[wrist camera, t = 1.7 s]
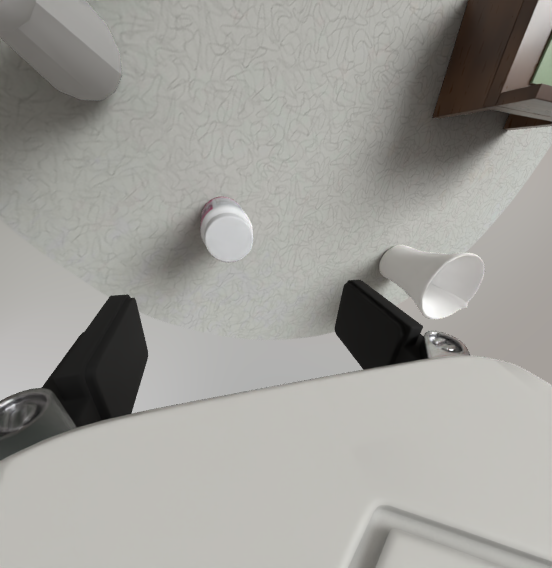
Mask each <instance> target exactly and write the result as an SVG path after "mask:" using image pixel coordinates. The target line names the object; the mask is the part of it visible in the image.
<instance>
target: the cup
mask: <svg viewBox="0 0 552 568" xmlns="http://www.w3.org/2000/svg"><path fill="white" fill-rule="evenodd" d="M379 270H380V272H381V274H382V276H384V277H385V278H387V279H389V280H391V281H392V282H394V283H395V284H397V285H398V286H399V287H401V288H402V289H403V290H404V291H405V292H406V293H407V294H408V295H409V296H410V297H411V298H412V299H413V300H414V302H415V303H416V305H417V307H418V308H419V310H420V312H421V313H422V315H424V316H425V317H426V318H429V319H441V318H444V317H447V316H450V315H452V314H453V313H455V312H456V311H458V310H460V309H465V308H467V307H468V304H467V303H468V302H469V301H470V299H471V298H472V297H473V296H474V294H475V292H476V291H477V290H478V288H479V286H480V284H481V281H482V279H483V276H484V263H483V261H482V259H481V258H480V257H479V256H477V255H475V254H472V253H452V254H443V253H430V252H424V251H420V250H416V249H413V248H410V247H408V246H406V245H397V246H394V247H392V248H390V249H389V250H388V251H387V252H386V253H385V254H384V255H383V256H382V258H381V261H380V264H379Z"/></svg>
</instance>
